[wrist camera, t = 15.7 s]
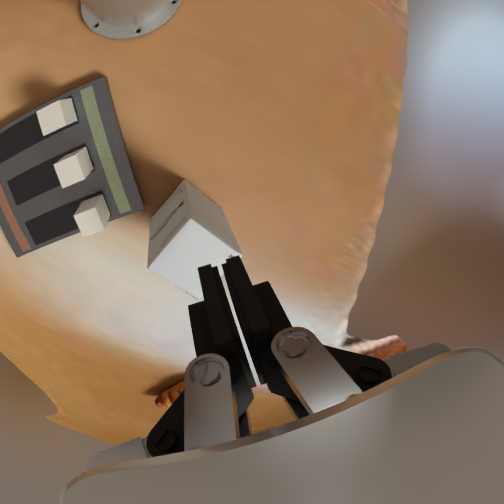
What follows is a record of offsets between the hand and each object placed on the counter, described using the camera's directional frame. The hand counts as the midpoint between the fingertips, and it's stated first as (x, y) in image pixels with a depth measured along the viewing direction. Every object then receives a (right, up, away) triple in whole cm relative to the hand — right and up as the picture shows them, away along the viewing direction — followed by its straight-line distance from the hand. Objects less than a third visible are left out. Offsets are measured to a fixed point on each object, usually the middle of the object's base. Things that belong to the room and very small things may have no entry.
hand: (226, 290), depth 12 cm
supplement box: (-8, +7, +29) cm, 31 cm away
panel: (-25, +12, +20) cm, 34 cm away
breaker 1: (-21, +18, +16) cm, 32 cm away
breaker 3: (-19, +7, +23) cm, 30 cm away
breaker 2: (-20, +12, +19) cm, 30 cm away
